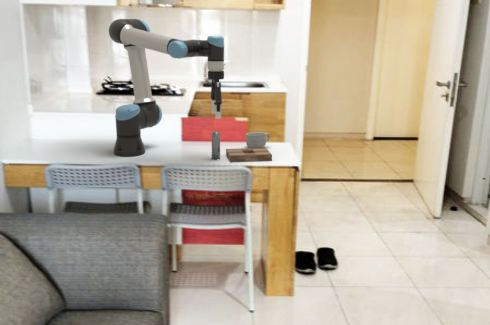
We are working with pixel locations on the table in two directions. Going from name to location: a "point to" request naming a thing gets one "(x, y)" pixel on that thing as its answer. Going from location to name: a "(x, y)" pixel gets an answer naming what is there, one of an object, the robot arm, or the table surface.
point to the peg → (215, 145)
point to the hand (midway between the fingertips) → (216, 116)
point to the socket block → (248, 154)
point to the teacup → (256, 139)
